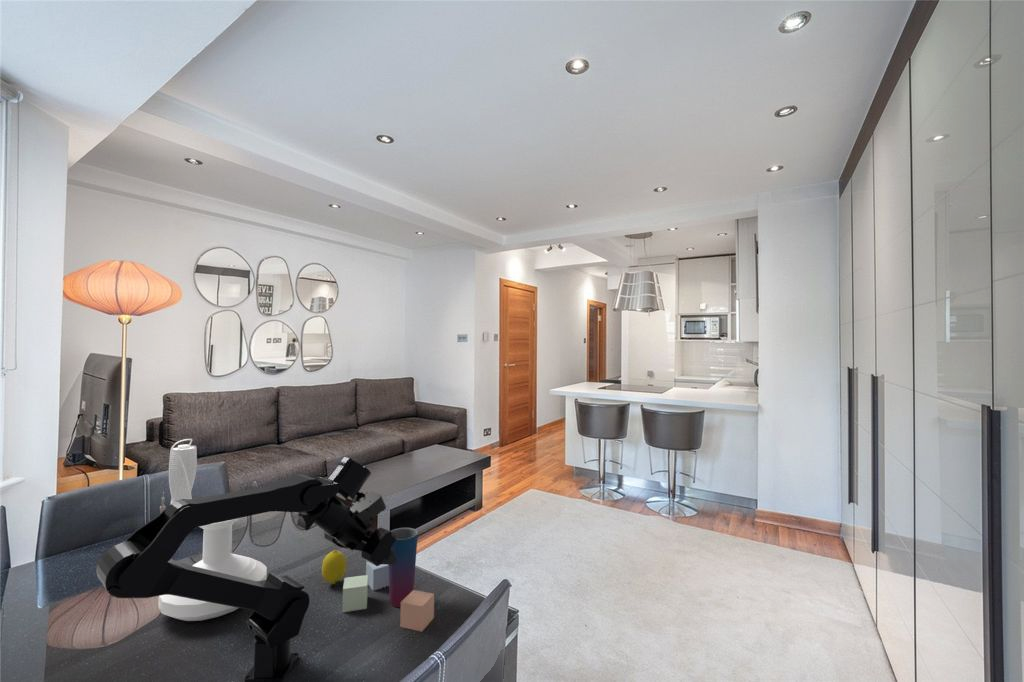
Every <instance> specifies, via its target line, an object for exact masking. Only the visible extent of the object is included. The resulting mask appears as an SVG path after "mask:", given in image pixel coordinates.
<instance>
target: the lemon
mask: <svg viewBox="0 0 1024 682" xmlns="http://www.w3.org/2000/svg"><path fill="white" fill-rule="evenodd" d="M346 570H347V560H346V556H345V555H344V553H343V552H341V551H339V550H336V549H334V550H332V551H331V552H328V554H326V555H325V557H324V559H323V561H322V564H321V575H322V578H323V580H324V581H325V582H327V583H330V584H331V585H335V584H336V583H337V582H338V581H340V580H341V579H343V577H344V576H345V573H346Z"/></svg>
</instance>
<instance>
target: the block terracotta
mask: <svg viewBox="0 0 1024 682" xmlns="http://www.w3.org/2000/svg"><path fill="white" fill-rule="evenodd" d="M399 618H400V619H399V620H400V621H399V622H400V624H399V625H400V628H404V629H409V630H413V631H416V632H422V633H423V631H424V630H425V629H426V627H427V626H428V625H429V624H430V623H431V622H432V621H433V619H434V618H435V593H432V592H426V591H422V590H417V589H414V590H413V591H412V592H411V593H410V594H409V595H408V596H407V597H406V598H404V599H403V600H402V601H401V607H400V617H399Z"/></svg>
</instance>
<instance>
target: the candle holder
mask: <svg viewBox="0 0 1024 682" xmlns="http://www.w3.org/2000/svg"><path fill="white" fill-rule="evenodd" d="M239 519H240V518H237V519H232V520H228V521H223V522H218V523H213V524H209V525H204V526H199V527H198V528H200V529H203V533H202V534H203V537H202V538H203V539H202V559H201V560H199V561H197V562H196V563H194V564H193V565H191V566H195V567H199V568H203V569H207V570H211V571H216V572H220V573H224V574H228V575H232V576H236V577H240V578H245V579H249V580H253V581H262V580H266V579H267V577H268V575H267V572H268V570H267V569H268V567H267V566H266V565H265V564H264V563H263V562H261V561H259V560H256V559H255V558H253V557H248V556H244V555H240V554H236V553H232V546H233V524H234V523H235V522H237V521H238V520H239ZM157 606H158V608H159V611H160V612H161V614H162V615H165V616H167V617H171V618H173V619H177V620H180V621H185V622H196V621H197V622H198V621H200V622H201V621H205V620H210V619H214V618H218V617H221V616H224V615H227V614H229V613H232V612H234V611H236V610H238V609H239V608H237V607H232V606H226V605H221V604H216V603H211V602H205V601H200V600H195V599H190V598H184V597H179V596H174V595H161V596H158V605H157Z"/></svg>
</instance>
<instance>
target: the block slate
mask: <svg viewBox="0 0 1024 682" xmlns="http://www.w3.org/2000/svg"><path fill="white" fill-rule="evenodd" d="M365 564H366V565H365V566H366V567H365V575H368V585H369V586H370V587H369V586H368V587H369V588H370V589H371V590H372V591H373V592H375V591H377V590H378V591H379V590H380V589H383V587H384V588H387V587H389V568H388V564H381V565H379V566H375V565H373V564H372V563H370V562H368V561H366V563H365ZM386 586H387V587H386Z"/></svg>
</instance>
